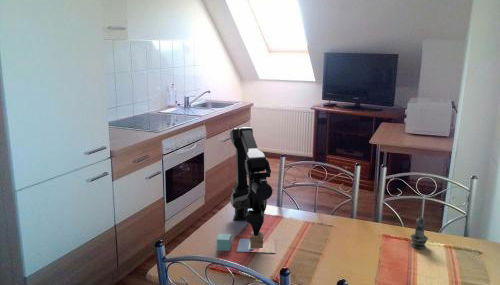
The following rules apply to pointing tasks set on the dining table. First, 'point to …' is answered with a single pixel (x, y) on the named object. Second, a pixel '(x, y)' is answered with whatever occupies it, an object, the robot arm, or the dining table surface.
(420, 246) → the dark grey flanged nozzle
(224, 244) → the teal cube
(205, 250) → the dining table surface
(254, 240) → the walnut cube
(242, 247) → the blueprint mat
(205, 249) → the dining table surface
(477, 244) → the dining table surface
